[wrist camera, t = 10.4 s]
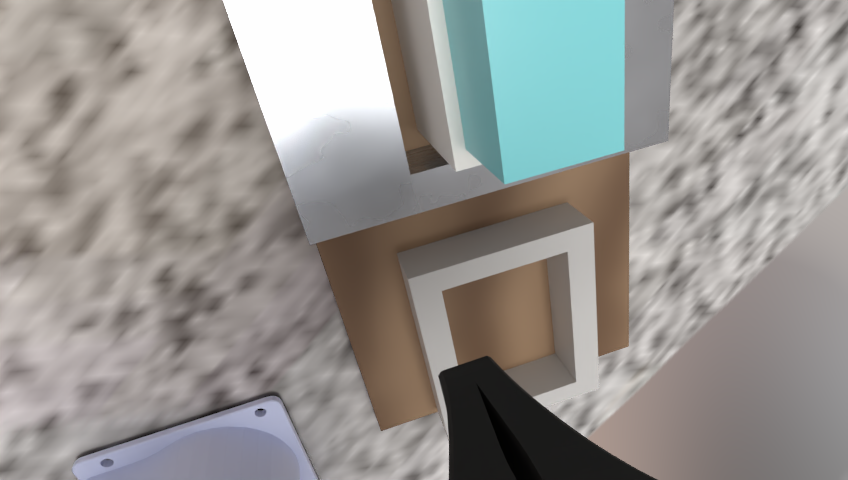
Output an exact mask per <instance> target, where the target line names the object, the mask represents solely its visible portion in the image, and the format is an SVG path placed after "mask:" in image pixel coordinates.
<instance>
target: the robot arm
mask: <svg viewBox="0 0 848 480" xmlns="http://www.w3.org/2000/svg"><path fill="white" fill-rule="evenodd" d="M438 377H439V381H440V385H441V389H442V393H443V397H444V401H445V405H446V410H447V419H448V433H449V480H657V479H655V478H653V477H651V476H649V475H647V474H645V473H643V472H641V471H639V470H637V469H636V468H634V467H632V466H631V465H629V464H627V463H625V462H624V461H622V460H620V459H619V458H617V457H615V456H613V455H611V454H610V453H608V452H607V451H605V450H604V449H602V448H601V447H599V446H598V445H596V444H594V443H593V442H591V441H590V440H588V439H587V438H585V437H584V436H583V435H581V434H580V433H578V432H577V431H575V430H574V429H573V428H571V427H570V426H569V425H567V424H566V423H565V422H563V421H562V420H560V419H559V418H558V417H557V416H555V415H554V414H553V413H551V412H550V411H549V410H548V409H546V408H545V407H544V406H543V405H542V404H540V403H539V402H538V401H537V400H536V399H534V398H533V397H532V396H531V395H530V394H528V393H527V392H526V391H525V390H524V389H523V388H522V387H520V386H519V385H518V384H517V383H516V382H515V381H514V380H513V379H512V378H511V377H510V376H509V375H508V374H507V373H506V372H505V371H504V370H503V369H502V368H501V367H500V366H499V365H498V364H497V363H496V362H495V361H494V360H493V359H492V358H491V357H489V356H484V357H481V358H478V359H475V360H472V361H469V362H466V363H463V364H461V365H458V366H455V367H452V368H449V369H446V370H443V371H441V372H440V374H439V375H438ZM260 408H262V409H264V410H262V411H258V410H257V409H260ZM106 459H111V460H106ZM72 472H73V474H74V475H75V476H76V477H77V479H78V480H319V479H318V477H317V475H316V473H315V471H314V469H313V467H312V464H311V462H310V460H309V458H308V456H307V454H306V452H305V449H304V447H303V445H302V443H301V441H300V439H299V437H298V435H297V432H296V430H295V428H294V426H293V424H292V422H291V420H290V417H289V415H288V413H287V411H286V409H285V407H284V405H283V402H282V400H281V399H280V398H279V397H277V396H268V397H265V398H261V399H258V400H255V401H252V402H249V403H246V404H243V405H240V406H237V407H234V408H231V409H228V410H224V411H221V412H218V413H215V414H212V415H209V416H206V417H203V418H200V419H197V420H194V421H191V422H188V423H184V424H181V425H178V426H175V427H172V428H169V429H166V430H163V431H160V432H157V433H154V434H151V435H147V436H144V437H141V438H138V439H135V440H132V441H129V442H126V443H123V444H120V445H117V446H114V447H111V448H107V449H104V450H101V451H98V452H95V453H92V454H89V455H86V456H83V457H80V458H78V459H77V460H76V461H75V462H74V465H73V467H72Z"/></svg>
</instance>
